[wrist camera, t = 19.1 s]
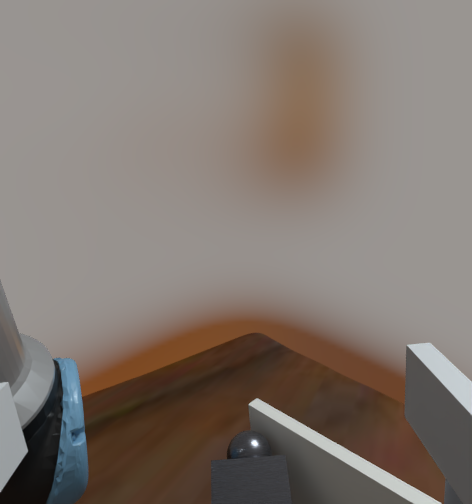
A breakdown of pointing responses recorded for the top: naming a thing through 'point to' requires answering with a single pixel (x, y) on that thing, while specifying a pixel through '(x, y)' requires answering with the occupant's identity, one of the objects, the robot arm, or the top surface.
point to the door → (327, 465)
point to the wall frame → (450, 495)
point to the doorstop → (250, 473)
